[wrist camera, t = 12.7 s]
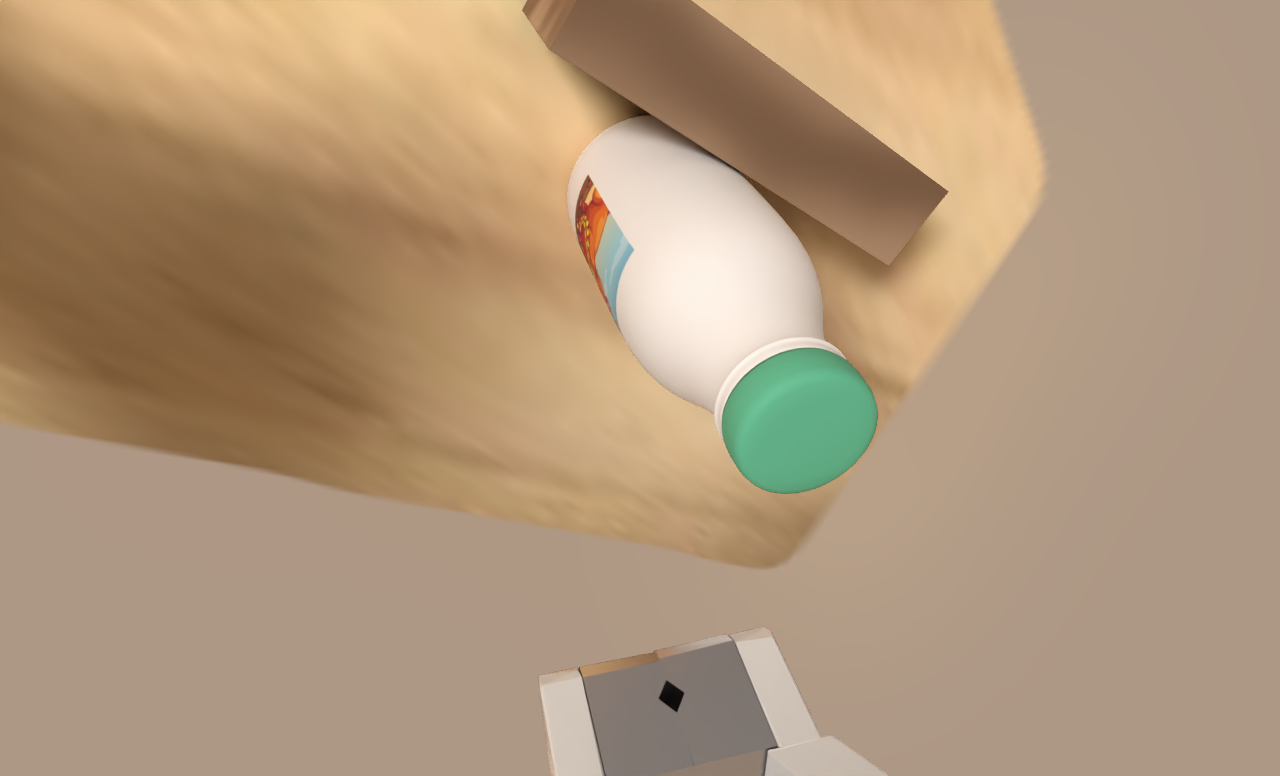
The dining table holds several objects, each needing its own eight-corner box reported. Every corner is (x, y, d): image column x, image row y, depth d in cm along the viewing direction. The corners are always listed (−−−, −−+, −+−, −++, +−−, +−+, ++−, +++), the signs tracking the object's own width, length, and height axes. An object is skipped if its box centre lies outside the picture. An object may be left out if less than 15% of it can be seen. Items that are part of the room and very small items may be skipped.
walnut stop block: (823, 206, 44) (888, 265, 38) (522, 10, 35) (549, 49, 29) (873, 140, 42) (948, 191, 37) (572, -83, 33) (610, -60, 28)
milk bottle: (594, 88, 37) (752, 300, 21) (743, 137, 40) (978, 353, 24) (543, 244, 41) (646, 524, 25) (683, 278, 44) (855, 547, 28)
